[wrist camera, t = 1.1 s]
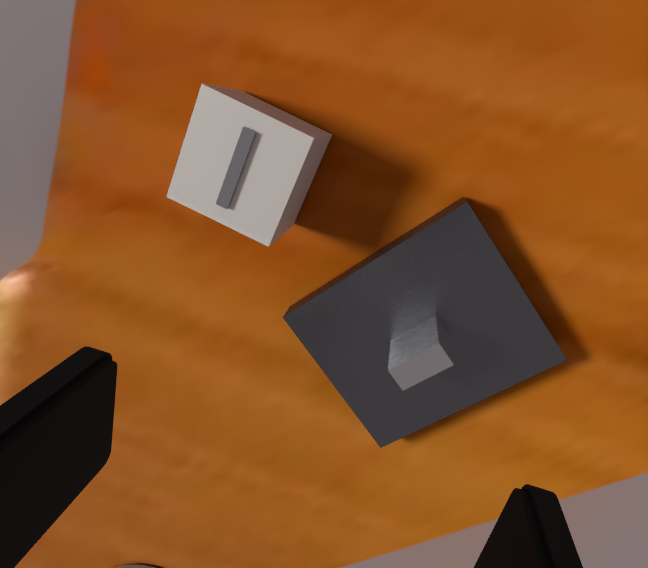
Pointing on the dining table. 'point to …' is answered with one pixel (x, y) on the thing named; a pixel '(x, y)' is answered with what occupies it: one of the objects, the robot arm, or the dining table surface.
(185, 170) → the knob
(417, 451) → the dining table surface
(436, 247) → the plate
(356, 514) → the dining table surface
